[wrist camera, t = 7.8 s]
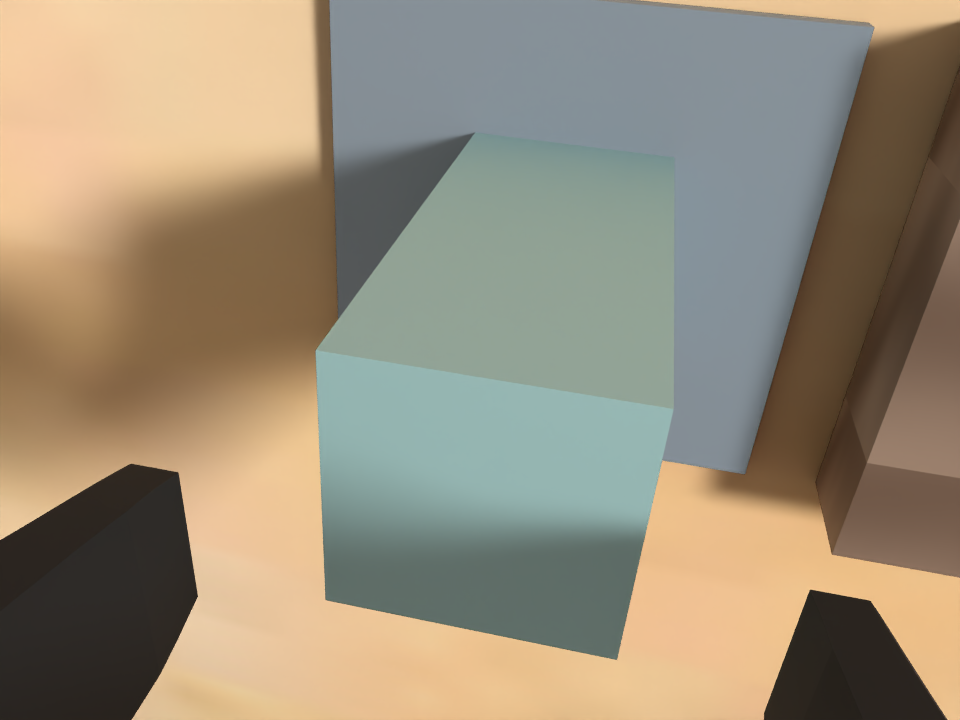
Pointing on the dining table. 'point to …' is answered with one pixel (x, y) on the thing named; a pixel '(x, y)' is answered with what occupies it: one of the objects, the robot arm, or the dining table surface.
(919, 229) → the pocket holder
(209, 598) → the dining table surface
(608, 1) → the rubber mat
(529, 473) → the teal block
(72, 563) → the robot arm
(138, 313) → the dining table surface
